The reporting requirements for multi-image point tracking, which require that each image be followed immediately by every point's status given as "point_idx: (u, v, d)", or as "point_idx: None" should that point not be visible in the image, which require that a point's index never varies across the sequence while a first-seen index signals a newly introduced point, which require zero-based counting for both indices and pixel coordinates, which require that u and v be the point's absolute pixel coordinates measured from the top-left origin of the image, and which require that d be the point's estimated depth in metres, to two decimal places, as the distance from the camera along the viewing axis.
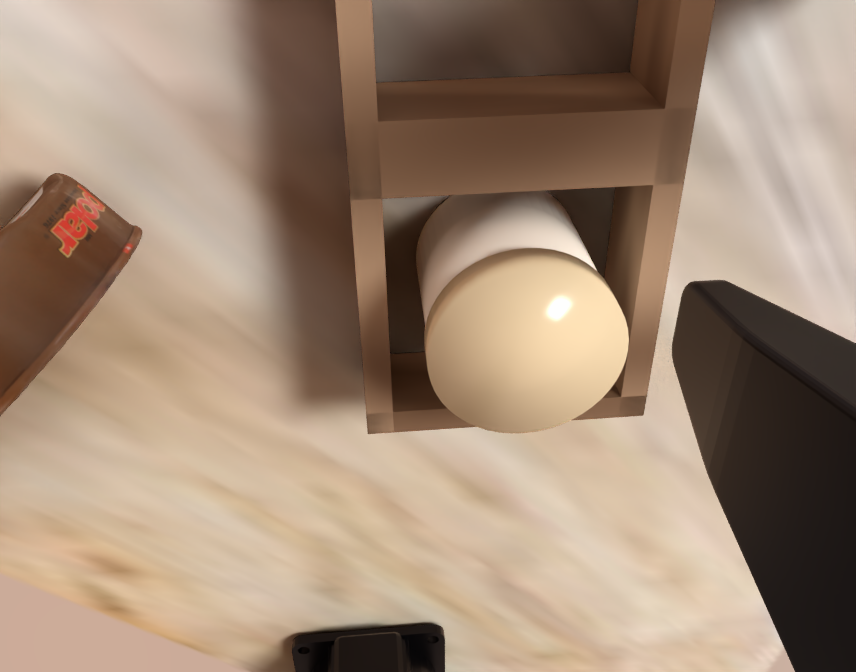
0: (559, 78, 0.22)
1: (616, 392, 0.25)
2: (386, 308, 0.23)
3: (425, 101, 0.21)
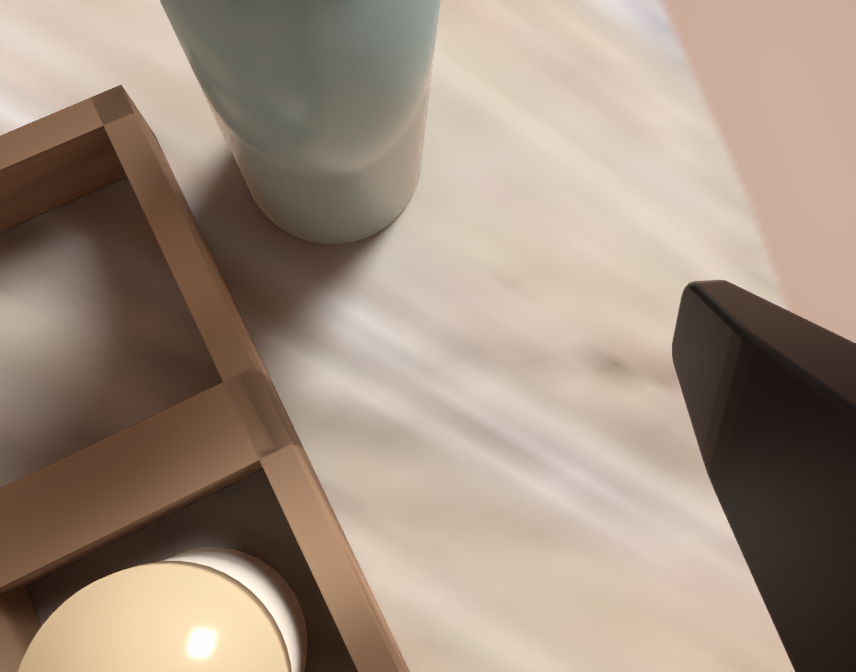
0: None
1: None
2: None
3: None
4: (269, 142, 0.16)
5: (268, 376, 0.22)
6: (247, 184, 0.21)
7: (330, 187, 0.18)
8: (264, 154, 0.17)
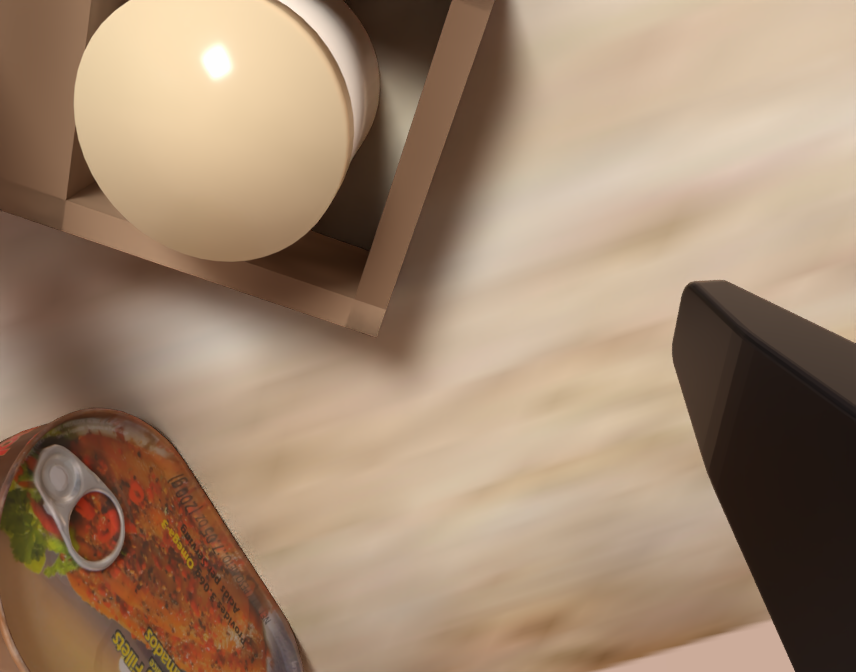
0: None
1: (452, 1, 0.16)
2: None
3: None
4: None
5: None
6: None
7: None
8: None
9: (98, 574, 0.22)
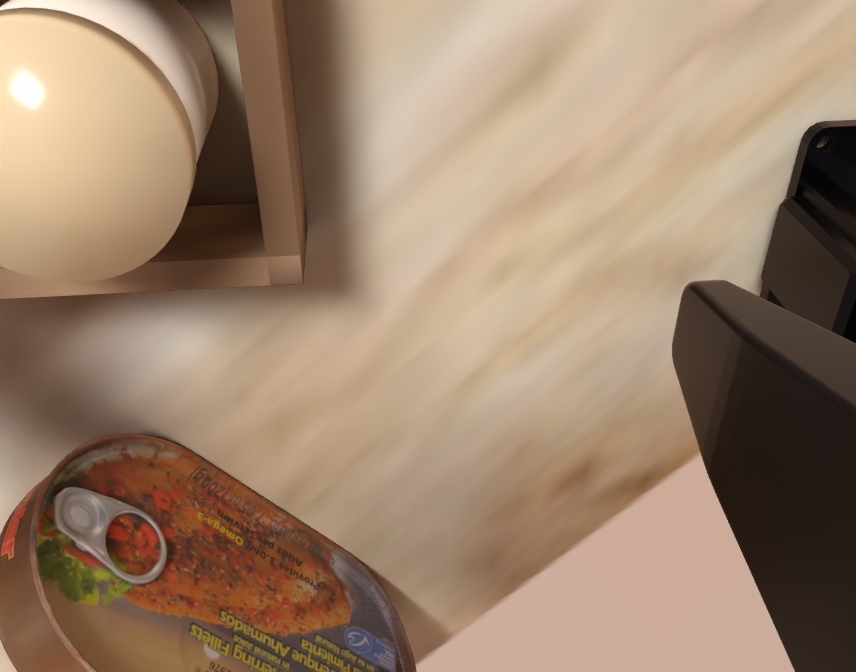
0: None
1: None
2: None
3: None
4: None
5: None
6: None
7: None
8: None
9: (154, 583, 0.23)
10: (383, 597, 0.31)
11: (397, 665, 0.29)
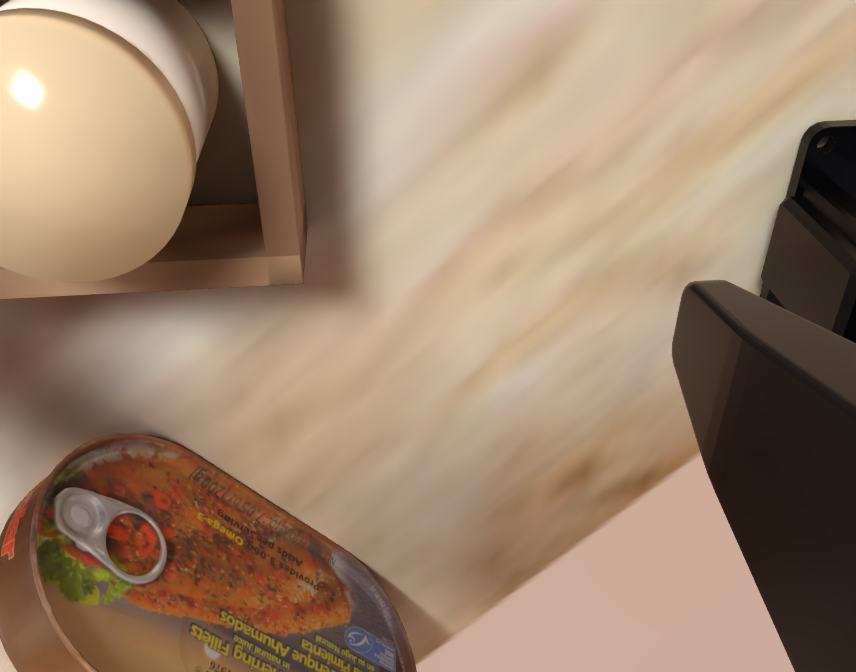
0: None
1: None
2: None
3: None
4: None
5: None
6: None
7: None
8: None
9: (154, 583, 0.23)
10: (383, 597, 0.31)
11: (397, 665, 0.29)
